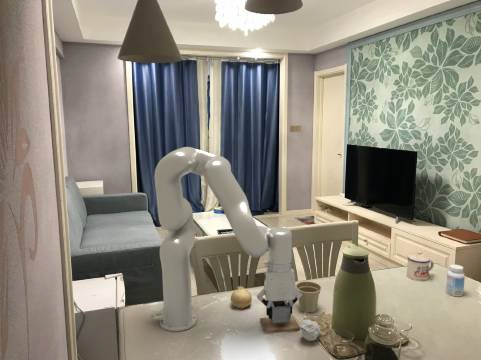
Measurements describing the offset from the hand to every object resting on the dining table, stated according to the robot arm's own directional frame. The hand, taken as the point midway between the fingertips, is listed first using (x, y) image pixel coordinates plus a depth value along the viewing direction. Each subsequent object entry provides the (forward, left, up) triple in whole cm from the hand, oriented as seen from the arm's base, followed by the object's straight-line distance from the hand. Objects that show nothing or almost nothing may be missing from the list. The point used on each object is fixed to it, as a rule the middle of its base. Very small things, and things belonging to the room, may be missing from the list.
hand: (279, 316), depth 133 cm
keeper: (0, 0, -3) cm, 3 cm away
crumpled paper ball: (+8, -10, -4) cm, 13 cm away
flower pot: (+13, +10, -4) cm, 17 cm away
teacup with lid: (+70, +31, -4) cm, 77 cm away
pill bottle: (+74, +14, -4) cm, 75 cm away
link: (0, 0, -1) cm, 1 cm away
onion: (-11, +16, -4) cm, 20 cm away
